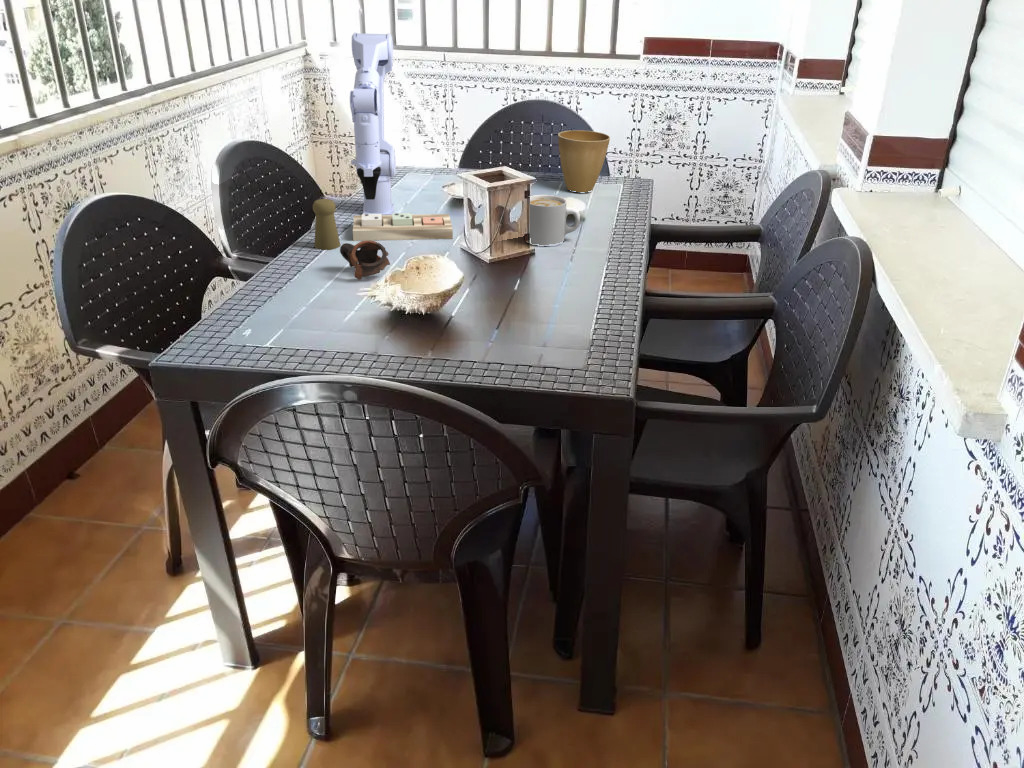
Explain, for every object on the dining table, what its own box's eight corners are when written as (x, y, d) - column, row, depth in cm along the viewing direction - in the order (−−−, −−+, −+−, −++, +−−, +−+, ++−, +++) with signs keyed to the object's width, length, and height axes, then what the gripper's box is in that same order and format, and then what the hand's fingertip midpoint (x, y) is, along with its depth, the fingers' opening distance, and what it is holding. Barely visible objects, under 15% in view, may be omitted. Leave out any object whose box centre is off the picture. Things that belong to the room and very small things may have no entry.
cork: (343, 242, 197) (340, 197, 192) (336, 250, 192) (332, 204, 186) (318, 240, 198) (314, 195, 192) (311, 249, 192) (306, 203, 187)
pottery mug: (397, 268, 184) (397, 244, 177) (378, 299, 179) (377, 275, 172) (349, 249, 185) (347, 224, 178) (329, 279, 181) (325, 255, 174)
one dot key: (422, 228, 208) (422, 216, 206) (441, 228, 208) (441, 215, 207) (423, 234, 204) (423, 222, 202) (443, 234, 204) (442, 221, 203)
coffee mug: (520, 245, 199) (522, 204, 194) (527, 232, 207) (529, 193, 202) (575, 250, 197) (578, 209, 192) (580, 236, 205) (583, 197, 200)
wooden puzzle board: (354, 225, 208) (354, 215, 207) (449, 223, 212) (448, 214, 210) (353, 240, 198) (352, 230, 197) (452, 238, 201) (452, 228, 200)
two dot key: (362, 225, 205) (361, 213, 204) (382, 225, 206) (381, 212, 204) (362, 231, 201) (361, 219, 199) (382, 231, 202) (381, 218, 200)
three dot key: (392, 225, 206) (392, 212, 205) (412, 224, 207) (411, 212, 205) (393, 231, 202) (392, 218, 200) (412, 230, 203) (412, 218, 201)
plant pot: (590, 200, 233) (594, 143, 226) (545, 191, 240) (548, 135, 233) (614, 189, 244) (619, 134, 237) (570, 180, 251) (574, 127, 244)
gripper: (350, 135, 199) (354, 190, 205) (349, 149, 186) (353, 207, 193) (380, 135, 200) (383, 190, 206) (380, 149, 187) (383, 207, 194)
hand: (370, 198), depth 200 cm, fingers closed
